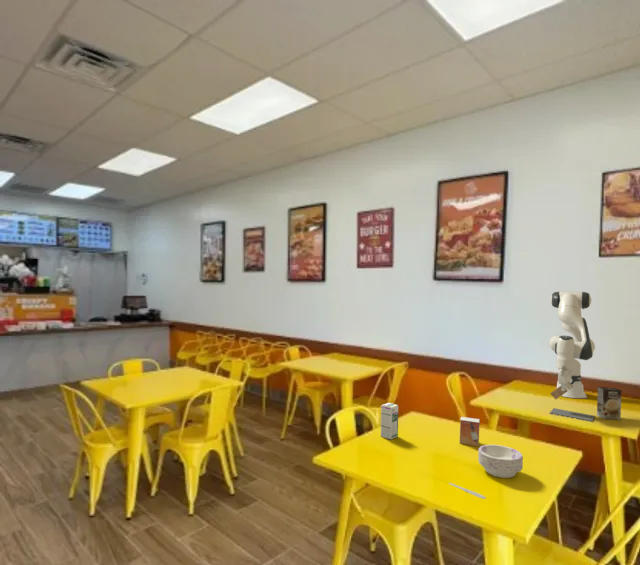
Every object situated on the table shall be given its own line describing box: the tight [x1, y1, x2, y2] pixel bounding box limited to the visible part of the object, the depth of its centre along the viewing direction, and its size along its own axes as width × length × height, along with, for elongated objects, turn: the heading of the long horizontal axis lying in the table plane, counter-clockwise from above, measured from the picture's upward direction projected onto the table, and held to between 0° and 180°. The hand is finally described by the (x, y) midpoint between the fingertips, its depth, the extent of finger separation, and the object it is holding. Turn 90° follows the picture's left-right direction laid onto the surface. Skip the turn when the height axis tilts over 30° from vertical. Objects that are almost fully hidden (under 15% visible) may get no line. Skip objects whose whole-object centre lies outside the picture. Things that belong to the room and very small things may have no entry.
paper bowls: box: [477, 444, 524, 479], centre depth 156 cm, size 15×15×8 cm
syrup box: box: [380, 402, 399, 440], centre depth 190 cm, size 6×6×14 cm
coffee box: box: [596, 386, 622, 421], centre depth 230 cm, size 9×6×16 cm
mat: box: [549, 407, 596, 423], centre depth 232 cm, size 12×20×1 cm, turn 51°
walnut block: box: [550, 381, 573, 400], centre depth 236 cm, size 5×4×11 cm
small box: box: [459, 416, 481, 447], centre depth 185 cm, size 8×6×10 cm
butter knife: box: [448, 482, 486, 500], centre depth 146 cm, size 1×27×3 cm
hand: (564, 389), depth 235 cm, fingers closed on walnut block, 5 cm apart
